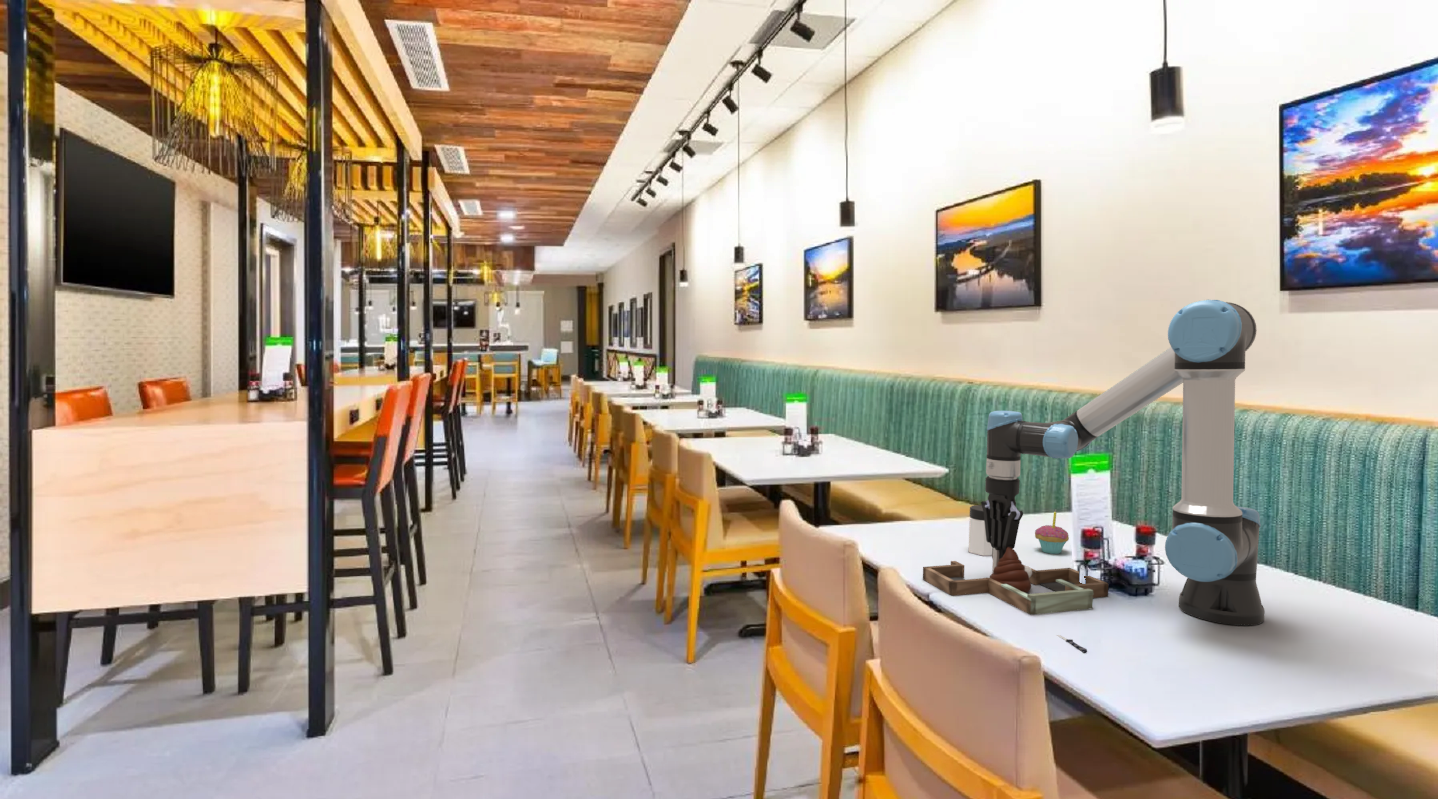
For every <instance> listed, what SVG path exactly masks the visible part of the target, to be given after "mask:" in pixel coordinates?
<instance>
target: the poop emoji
mask: <svg viewBox="0 0 1438 799" xmlns="http://www.w3.org/2000/svg"><path fill="white" fill-rule="evenodd" d="M1032 569H1033V568H1032ZM1032 569H1031V567H1030V565H1025V566H1024V564H1023V563H1022V560H1020V558H1019V555H1018V553H1017V552H1016V551H1015V548H1013V549H1012V548H1010V547H1007V549H1006V552H1005V554H1004V555H1003V557H1002V558H1001V559H999V562H998V563H997V566H996V567H995V568H994V570H993V573H992V572H991V574H990V575H989V577H988V578H991V579H993V580H995V581H998V582H1000V583H1002V584H1008V585H1010V586H1012V587H1014V588H1016V589H1018V590H1020V591H1022V592H1024V593H1026V594H1028V592H1030V591H1031V587H1032V583H1030V580H1029V577H1031V575H1032Z"/></svg>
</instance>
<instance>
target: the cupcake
mask: <svg viewBox="0 0 1438 799" xmlns="http://www.w3.org/2000/svg"><path fill="white" fill-rule="evenodd" d="M1056 519H1057V509H1055V510H1054V511H1053V516H1052V524H1050V525H1049V524H1046V525H1042V526H1040V527H1038V528H1037V529H1036V530H1035V531H1034V537H1035V539H1037V540H1038V542H1039V544H1040V547H1041V548H1040V549H1041V551H1042V552H1043V553H1045V554H1052V555H1059V554H1062V550H1063V549H1064V546H1065V544H1066V543H1067V542H1069V540H1070V539H1069V538H1070V537H1069V533H1068V532H1067V530H1066V529H1063V527H1060V526H1056Z"/></svg>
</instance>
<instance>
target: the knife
mask: <svg viewBox="0 0 1438 799" xmlns="http://www.w3.org/2000/svg"><path fill="white" fill-rule="evenodd" d="M1056 636H1057V637H1059V638H1060V639H1062V640H1064V641H1065V642H1066V643H1068V644H1069V645H1071V646H1072V647H1074V648H1075V649H1077V650H1078V651H1080V652H1082V653H1087V651H1088V649H1087V648H1086V647H1083V646H1081V645H1079V644H1077V643H1076V642H1074V640H1073V639H1071V638H1070V639H1068V638H1067V637H1065V636H1063V635H1059V634H1058V635H1057V634H1056Z"/></svg>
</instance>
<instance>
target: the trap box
mask: <svg viewBox="0 0 1438 799" xmlns="http://www.w3.org/2000/svg"><path fill="white" fill-rule="evenodd" d="M1023 565H1024V564H1023ZM1024 566H1026V564H1025V565H1024ZM1030 568H1031V567H1030ZM1031 569H1032V575H1031V577H1029V580H1030V583H1031V585H1033V586H1042V587H1043V588H1047V589H1049V590H1051V591H1049V592H1048V591H1047V592H1040V593H1036V592H1035V593H1024V592H1022V591H1020V590H1018V589H1016V588H1014V587H1012V586H1010V585H1008V584H1002V583H1000V582H998V581H995V580H993V579H991V578H989V577H983V578H981V577H980V578H971V579H969V578H968V579H965V565H964V564H963V563H960V562H959V561H957V560H951V561H950V564H946V565H932V566H923V567H922V580H923V581H925V582H926V583H929V584H930V585H931V586H934V587H935V588H936V589H939V590H940V591H943V592H945V593H946V594H948V595H949V596H951V597H952V596H953V597H954V596H955V597H956V596H963V595H975V594H976V595H977V594H986V593H987V594H990V596H994V597H996V598H997V599H999V600H1001V601H1002V602H1004V603H1007V604H1008V605H1011V606H1013V607H1015V608H1017V609H1018V610H1020V611H1022V612H1023V613H1026V614H1028V615H1030V616H1032V615H1033V616H1034V615H1045V614H1053V613H1062V612H1073V611H1082V610H1091V609H1092V610H1093V603H1094V601H1093V600H1094V599H1096V598H1106V597H1107V598H1108V597H1109V585H1110V584H1109V583H1108V582H1106V581H1103V580H1101V579H1099V578H1096V577H1094V576H1091V575H1089V576H1084V578H1086V579H1085V580H1086V584H1082V583H1080V582H1079V572H1080V571H1079V570H1076V569H1073V568H1072V567H1065V568H1064V567H1062V568H1051V569H1041V570H1039V569H1037V570H1036V569H1035V568H1031Z"/></svg>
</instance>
